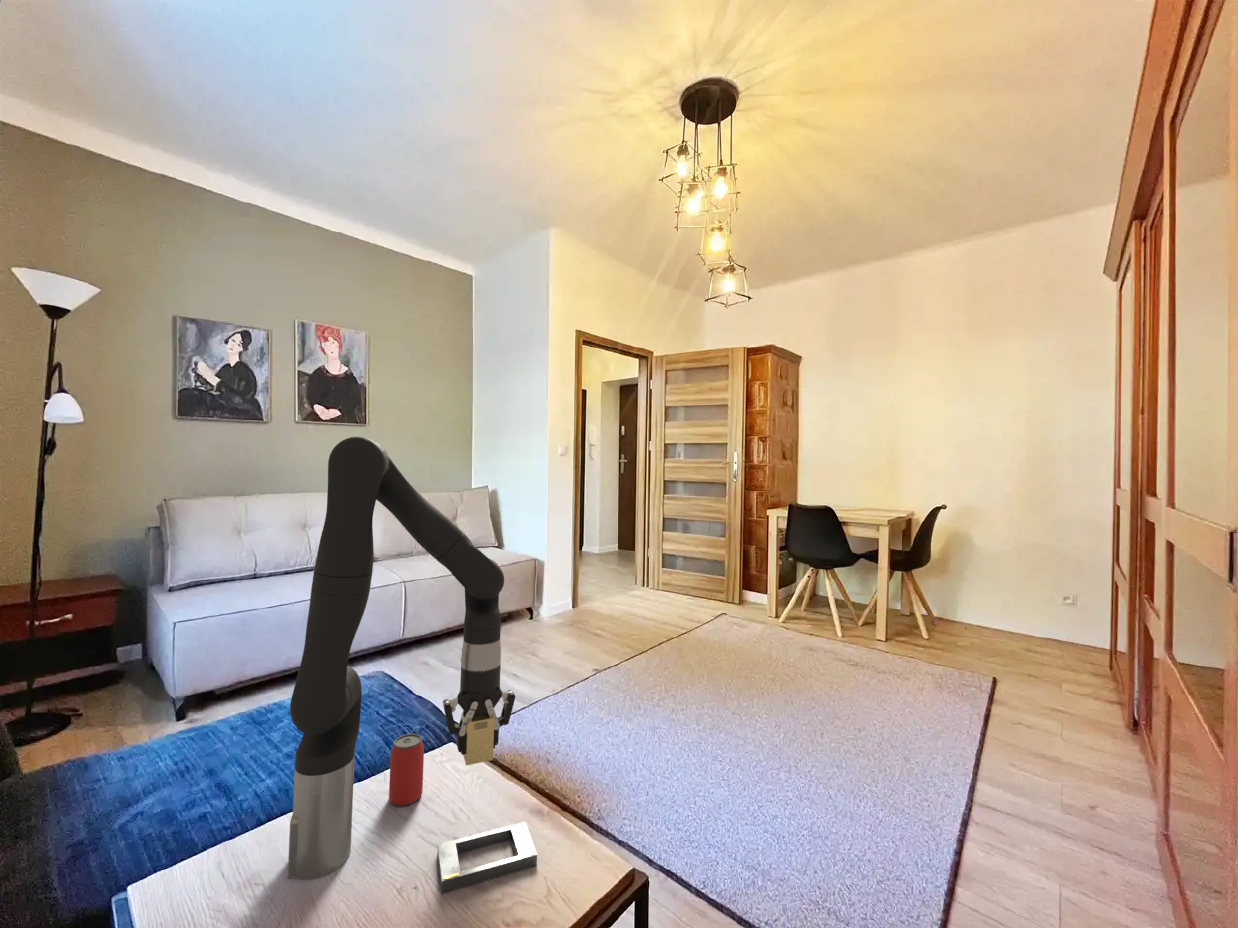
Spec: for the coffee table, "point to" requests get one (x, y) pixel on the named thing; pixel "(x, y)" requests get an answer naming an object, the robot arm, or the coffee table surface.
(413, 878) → the coffee table surface
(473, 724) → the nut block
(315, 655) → the robot arm
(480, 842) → the grey rectangular frame
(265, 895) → the coffee table surface
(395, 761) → the beer can
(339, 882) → the coffee table surface
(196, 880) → the coffee table surface
